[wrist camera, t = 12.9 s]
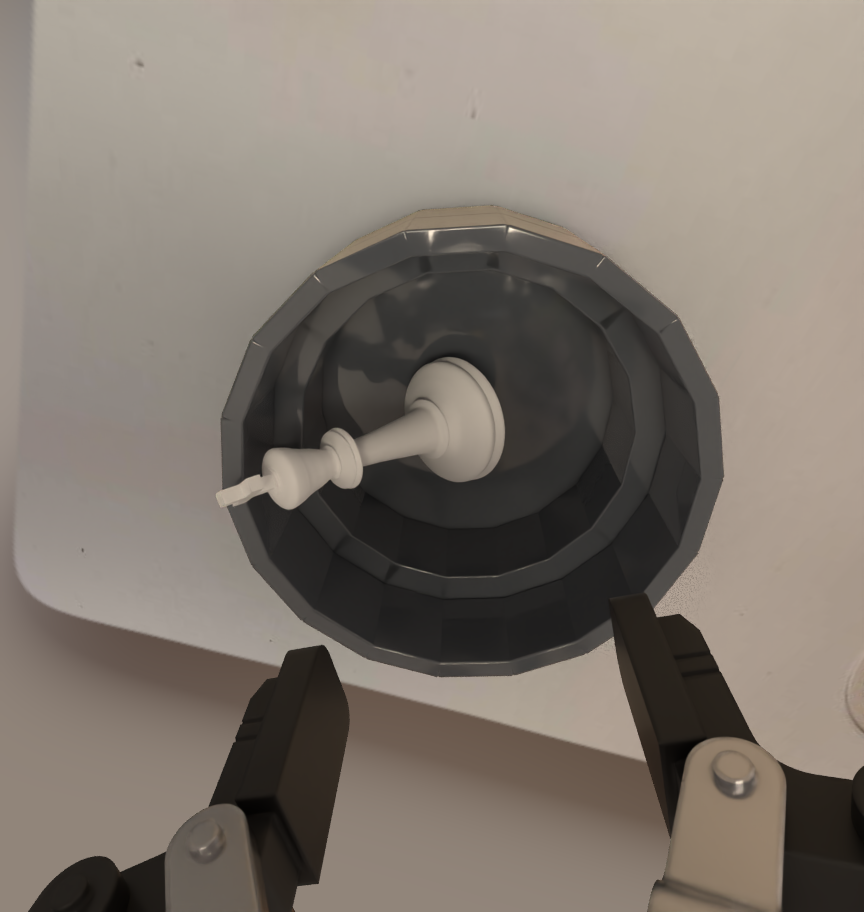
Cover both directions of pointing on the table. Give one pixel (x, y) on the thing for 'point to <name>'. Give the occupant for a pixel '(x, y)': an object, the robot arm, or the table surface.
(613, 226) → the table surface
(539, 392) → the faceted round planter
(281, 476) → the chess piece
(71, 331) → the table surface
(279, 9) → the table surface
